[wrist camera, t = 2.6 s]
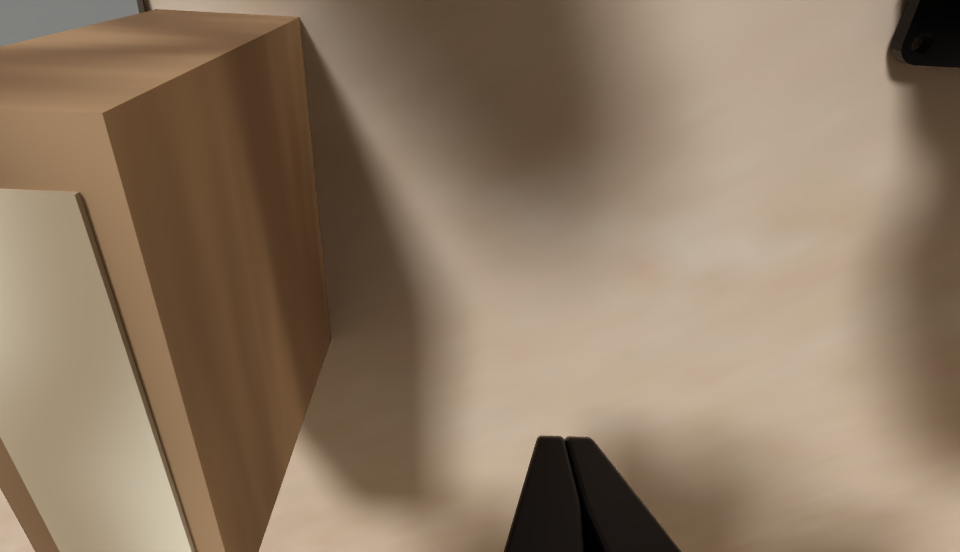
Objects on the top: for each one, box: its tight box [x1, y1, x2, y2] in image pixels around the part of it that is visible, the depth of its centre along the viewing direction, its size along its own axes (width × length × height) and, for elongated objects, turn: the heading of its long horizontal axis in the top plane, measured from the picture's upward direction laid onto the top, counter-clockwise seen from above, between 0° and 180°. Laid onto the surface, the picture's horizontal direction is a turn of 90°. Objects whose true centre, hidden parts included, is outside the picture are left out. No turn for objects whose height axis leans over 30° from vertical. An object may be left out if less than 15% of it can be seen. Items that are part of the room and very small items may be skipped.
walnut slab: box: [0, 9, 331, 552], centre depth 13 cm, size 4×10×9 cm, turn 177°
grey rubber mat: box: [0, 0, 145, 47], centre depth 16 cm, size 10×14×1 cm
